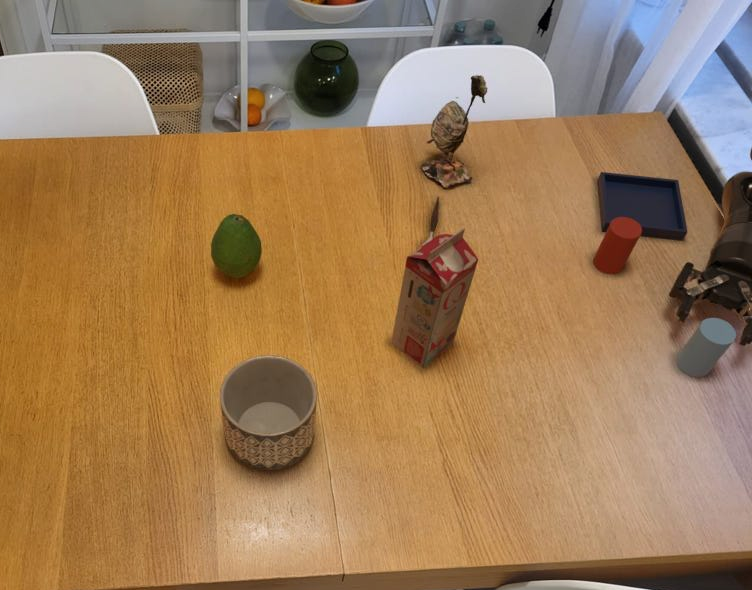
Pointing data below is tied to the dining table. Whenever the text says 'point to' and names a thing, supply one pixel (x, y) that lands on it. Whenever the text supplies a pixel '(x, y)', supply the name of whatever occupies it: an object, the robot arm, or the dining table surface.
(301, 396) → the planter
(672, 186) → the blue tray
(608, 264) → the red cylinder
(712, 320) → the blue pin
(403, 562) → the dining table surface
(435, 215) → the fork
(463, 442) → the dining table surface
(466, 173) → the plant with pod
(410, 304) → the juice carton
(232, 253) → the fruit
